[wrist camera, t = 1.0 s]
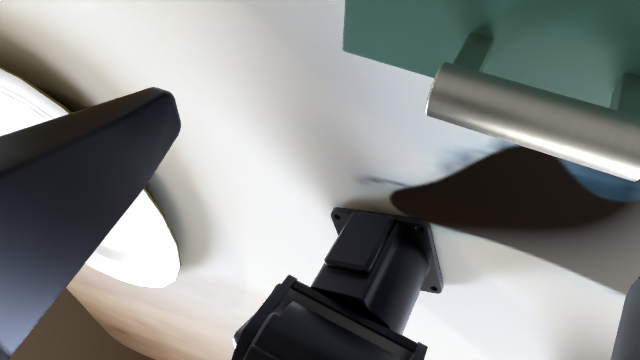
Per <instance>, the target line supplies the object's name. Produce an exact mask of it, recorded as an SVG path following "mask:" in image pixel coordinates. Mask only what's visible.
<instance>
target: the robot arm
mask: <svg viewBox="0 0 640 360" xmlns="http://www.w3.org/2000/svg"><path fill="white" fill-rule="evenodd" d="M180 128H181V121H180V117H179V113H178V109H177V106H176V102H175V98H174V96H173V95H172V93H170V92H168V91H166V90H163V89H160V88H156V87H151V88H148V89H145V90H142V91H139V92H135V93H132V94H129V95H126V96H123V97H120V98H117V99H114V100H111V101H108V102H104V103H101V104H98V105H95V106H92V107H89V108H86V109H83V110H80V111H76V112H73V113H70V114H67V115H64V116H61V117H58V118H55V119H52V120H48V121H45V122H42V123H39V124H36V125H33V126H30V127H27V128H24V129H20V130H17V131H14V132H11V133H8V134H5V135H2V136H0V360H9V359H10V355H12V354H13V353H14V352H15V351H16V349H17V348H18V347H19V346H20V344H21V343H22V342H23V341H24V339H25V338H26V337H27V336H28V334H29V333H30V332H31V331H32V329H33V328H34V327H35V325H36V324H37V323H38V322H39V321H40V319H41V318H42V317H43V315H44V314H45V313H46V312H47V310H48V309H49V308H50V307H51V305H52V304H53V303H54V302H55V300H56V299H57V298H58V296H59V295H60V294H61V293H62V291H63V290H64V289H65V288H66V287H67V285H68V284H69V283H70V281H71V280H72V279H73V278H74V276H75V275H76V274H77V273H78V271H79V270H80V269H81V268H82V266H83V265H84V264H85V263H86V261H87V260H88V259H89V258H90V256H91V255H92V254H93V253H94V251H95V250H96V249H97V247H98V246H99V245H100V244H101V242H102V241H103V240H104V239H105V237H106V236H107V235H108V234H109V232H110V231H111V230H112V229H113V227H114V226H115V225H116V224H117V222H118V221H119V220H120V218H121V217H122V216H123V215H124V213H125V212H126V211H127V210H128V208H129V207H130V206H131V205H132V203H133V202H134V201H135V200H136V198H137V197H138V196H139V194H140V193H141V192H142V190H143V189H144V188H145V186H146V185H147V183H148V182H149V180H150V179H151V177H152V175H153V174H154V172H155V171H156V169H157V168H158V166H159V164H160V163H161V161H162V160H163V158H164V156H165V155H166V153H167V152H168V150H169V149H170V147H171V145H172V144H173V142H174V141H175V139H176V138H177V136H178V134H179V132H180ZM331 218H332V220H333V223H334V225H335V228H336V231H337V233H338V238H337V239H336V241H335V243H334V244H333V246H332V248H331V249H330V251H329V253H328V254H327V256H326V258H325V263H324V265H323V266H322V268H321V270H320V272H319V273H318V275H317V277H316V278H315V280H314V282H313V283H312V285H311V287H309V286H307V285H305V284H303V283H301V282H299V281H297V278H295V277H293V276H291V275H288V276H287V278H286V279H285V280H284V281H283V283H282V284H280V283H279V284H278V285H276V287H275V288H274V290H273V292H272V293H271V295H270V296H269V297H268V298H267V300H266V301H265V302H264V303H263V305H262V306H261V307H260V308H259V310H258V311H257V312H256V313H255V314H254V315H253V316H252V317H251V318H250V319H249V320H248V321H247V322H246V323H245V324H244V325H243V326H242V327H241V328H240V329H239V330H238V331H237V332H236V333H235V335H234V337H233V343H234V347H235V350H234V353H233V357H232V360H424V357H425V354H426V351H427V346H425V345H423V344H422V343H420V342H418V343H416V342H414V341H412V340H410V339H408V338H406V337H405V336H403V335H402V333H403V331H404V328H405V326H406V324H407V321H408V319H409V316H410V314H411V311H412V309H413V307H414V304H415V302H416V299H417V297H418V295H419V292H420V290H422V291H427V292H431V293H437V294H438V293H441V291H442V289H443V281H442V277H441V273H440V268H439V264H438V259H437V255H436V250H435V246H434V241H433V237H432V233H431V228H430V225H429V223H428V222H427V221H425V220H424V219H420V218H413V217H406V216H399V215H391V214H384V213H377V212H370V211H363V210H355V209H348V208H341V207H335V208H334V209H333V211H332V212H331ZM611 360H640V277H639V278H638V279H637V280H636V282H635V283H634V284H633V285H632V286H631V288H630V289H629V291H628V293H627V296H626V298H625V302H624V306H623V311H622V315H621V319H620V323H619V327H618V332H617V336H616V340H615V344H614V349H613V353H612V357H611Z"/></svg>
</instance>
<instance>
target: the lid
mask: <svg viewBox="0 0 640 360" xmlns="http://www.w3.org/2000/svg"><path fill="white" fill-rule="evenodd" d="M343 51H345V52H348V53H351V54H355V55H358V56H362V57H365V58H368V59H372V60H375V61H378V62H382V63H385V64H389V65H392V66H395V67H399V68H402V69H406V70H409V71H412V72H416V73H419V74H422V75H426V76H429V77H433V78H434V81H433V83H432V86H431V89H430V92H429V95H428V99H427V103H426V115H427V116H430V117H433V118H436V119H440V120H443V121H446V122H449V123H452V124H455V125H458V126H461V127H465V128H468V129H471V130H474V131H477V132H480V133H483V134H486V135H490V136H493V137H496V138H499V139H502V140H505V141H508V142H511V143H515V144H518V145H521V146H524V147H527V148H530V149H534V150H537V151H540V152H543V153H546V154H549V155H552V156H555V157H558V158H561V159H565V160H568V161H571V162H574V163H577V164H580V165H583V166H586V167H590V168H593V169H596V170H599V171H602V172H605V173H608V174H611V175H615V176H618V177H621V178H624V179H627V180H630V181H637V180H639V179H640V0H345V17H344V33H343Z"/></svg>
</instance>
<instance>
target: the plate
mask: <svg viewBox="0 0 640 360" xmlns="http://www.w3.org/2000/svg"><path fill="white" fill-rule="evenodd" d="M70 113H72V112H70V111H69V110H68V109H67V108H66V107H64V106H63V105H62V104H60V103H59V102H57V101H56V100H54V99H53V98H52V97H50V96H49V95H47V94H46V93H44V92H43V91H41V90H40V89H39V88H37V87H36V86H34V85H33V84H31V83H30V82H29V81H27V80H26V79H24V78H22V77H20V76H18V75H16V74H14V73H12V72H10V71H8V70H6V69H4V68H2V67H0V136H2V135H5V134H8V133H11V132H14V131H17V130H20V129H24V128H27V127H30V126H33V125H36V124H39V123H42V122H45V121H48V120H52V119H55V118H58V117H61V116H64V115H67V114H70ZM86 263H87V264H88V265H90V266H92V267H94V268H95V269H97V270H99V271H101V272H103V273H105V274H108V275H110V276H112V277H114V278H117V279H119V280H121V281H124V282H128V283H131V284H135V285H139V286H143V287H164V286H166V285H168V284H170V283H172V282H174V281H175V280H176V278H177V276H178V273H179V271H180V268H181V260H180V254H179V248H178V243H177V241H176V239H175V237H174V235H173V233H172V231H171V229H170V226H169V224H168V222H167V220H166V218H165V216H164V214H163V212H162V211H161V209H160V208H159V207H158V205H157V204H156V202H155V201H154V200H153V198H152V197H151V195H150V194H149V192H148V191H147V190H146V188H144V189H143V190H142V192H141V193H140V194H139V196H138V197H137V198H136V200H135V201H134V202H133V203H132V205H131V206H130V207H129V208H128V210H127V211H126V212H125V213H124V215H123V216H122V217H121V218H120V220H119V221H118V222H117V224H116V225H115V226H114V227H113V229H112V230H111V231H110V232H109V234H108V235H107V236H106V237H105V239H104V240H103V241H102V242H101V244H100V245H99V246H98V247H97V249H96V250H95V251H94V253H93V254H92V255H91V256H90V258H89V259H88V260H87V261H86Z"/></svg>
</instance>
